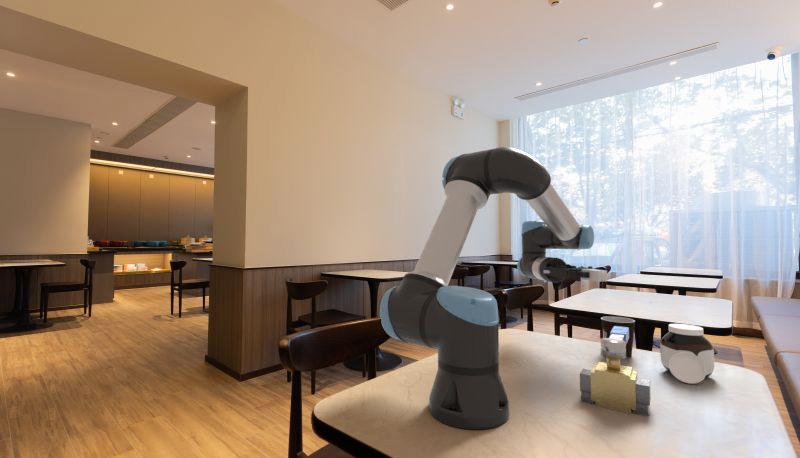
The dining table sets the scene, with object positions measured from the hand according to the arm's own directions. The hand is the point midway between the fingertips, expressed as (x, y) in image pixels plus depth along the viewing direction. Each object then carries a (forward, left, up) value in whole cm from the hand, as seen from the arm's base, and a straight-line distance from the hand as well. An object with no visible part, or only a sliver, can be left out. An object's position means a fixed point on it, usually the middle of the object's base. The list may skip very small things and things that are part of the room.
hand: (602, 276), depth 92 cm
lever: (-5, -10, -14) cm, 18 cm away
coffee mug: (+16, +15, -24) cm, 32 cm away
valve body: (-10, -15, -24) cm, 30 cm away
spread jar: (+18, -5, -24) cm, 31 cm away
